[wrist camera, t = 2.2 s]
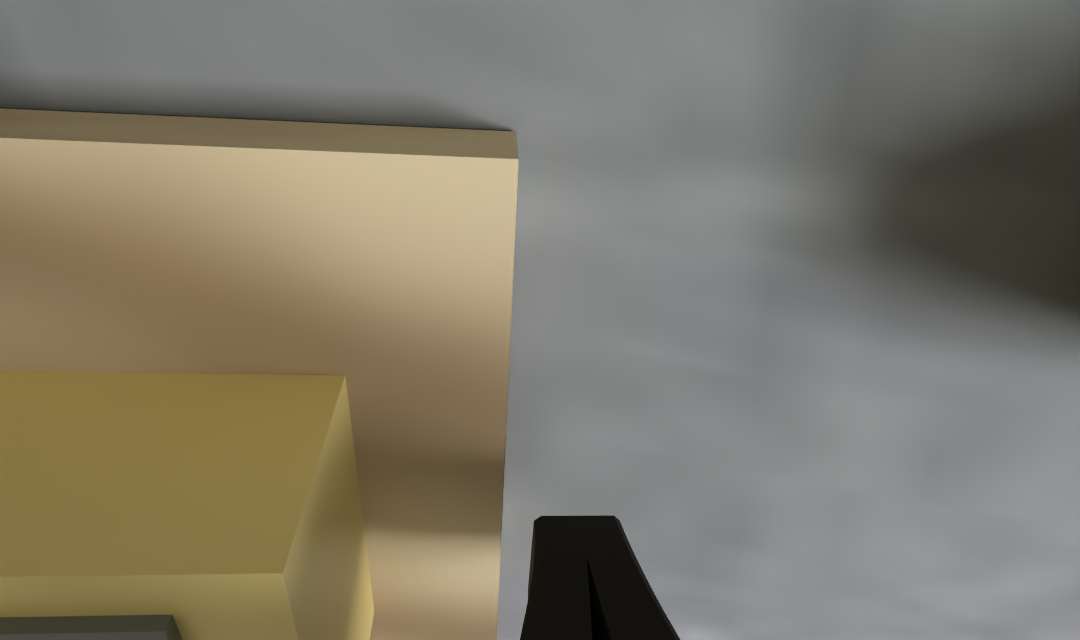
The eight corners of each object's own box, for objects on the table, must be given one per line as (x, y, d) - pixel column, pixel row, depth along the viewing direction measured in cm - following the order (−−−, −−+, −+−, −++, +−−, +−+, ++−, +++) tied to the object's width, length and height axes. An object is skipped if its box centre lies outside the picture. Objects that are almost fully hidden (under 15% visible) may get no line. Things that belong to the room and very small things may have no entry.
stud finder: (374, 611, 13) (337, 830, 10) (115, 615, 13) (-8, 846, 10) (345, 375, 10) (276, 589, 7) (-3, 371, 10) (-246, 597, 6)
